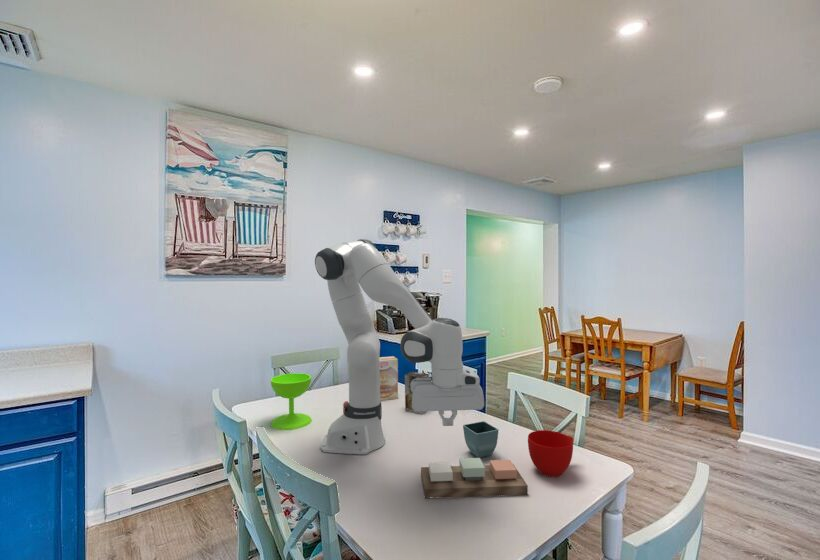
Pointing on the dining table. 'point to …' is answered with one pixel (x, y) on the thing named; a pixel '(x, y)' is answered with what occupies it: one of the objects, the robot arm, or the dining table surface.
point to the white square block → (440, 472)
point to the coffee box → (408, 393)
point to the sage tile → (472, 468)
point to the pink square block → (503, 469)
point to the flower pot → (480, 438)
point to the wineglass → (291, 399)
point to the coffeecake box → (388, 378)
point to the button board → (472, 485)
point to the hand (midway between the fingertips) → (447, 425)
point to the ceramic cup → (550, 451)
